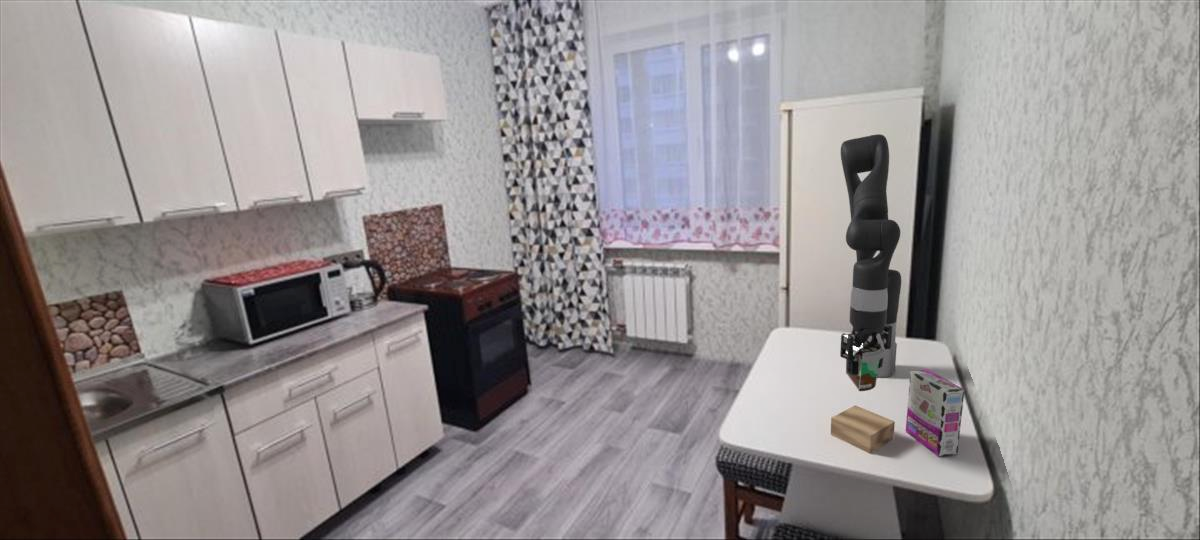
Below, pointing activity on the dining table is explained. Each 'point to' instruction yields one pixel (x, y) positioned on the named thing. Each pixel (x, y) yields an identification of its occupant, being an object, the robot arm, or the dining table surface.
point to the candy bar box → (934, 412)
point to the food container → (866, 368)
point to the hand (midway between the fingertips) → (864, 370)
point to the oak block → (862, 428)
